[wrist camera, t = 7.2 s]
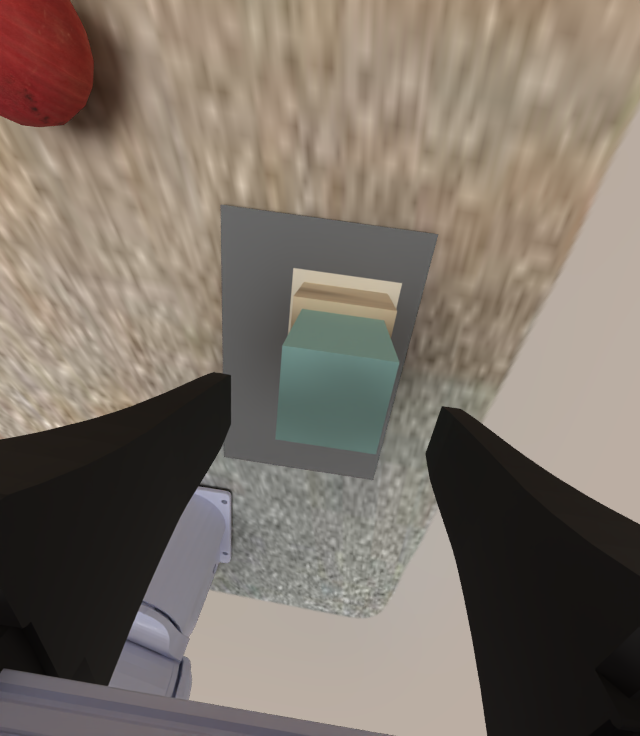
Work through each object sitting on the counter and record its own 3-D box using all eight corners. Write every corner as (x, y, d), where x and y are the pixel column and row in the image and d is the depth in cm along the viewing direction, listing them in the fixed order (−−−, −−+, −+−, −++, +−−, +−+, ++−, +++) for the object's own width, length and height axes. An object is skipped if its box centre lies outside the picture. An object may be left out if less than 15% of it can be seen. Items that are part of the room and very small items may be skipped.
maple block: (371, 369, 20) (376, 400, 17) (296, 358, 21) (285, 386, 17) (387, 293, 18) (397, 311, 15) (304, 281, 18) (293, 296, 15)
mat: (372, 475, 25) (373, 480, 24) (226, 452, 25) (224, 457, 25) (436, 234, 17) (438, 234, 17) (224, 204, 18) (220, 204, 17)
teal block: (368, 391, 17) (375, 454, 12) (295, 380, 17) (275, 439, 12) (384, 320, 15) (399, 362, 10) (302, 308, 15) (282, 345, 11)
